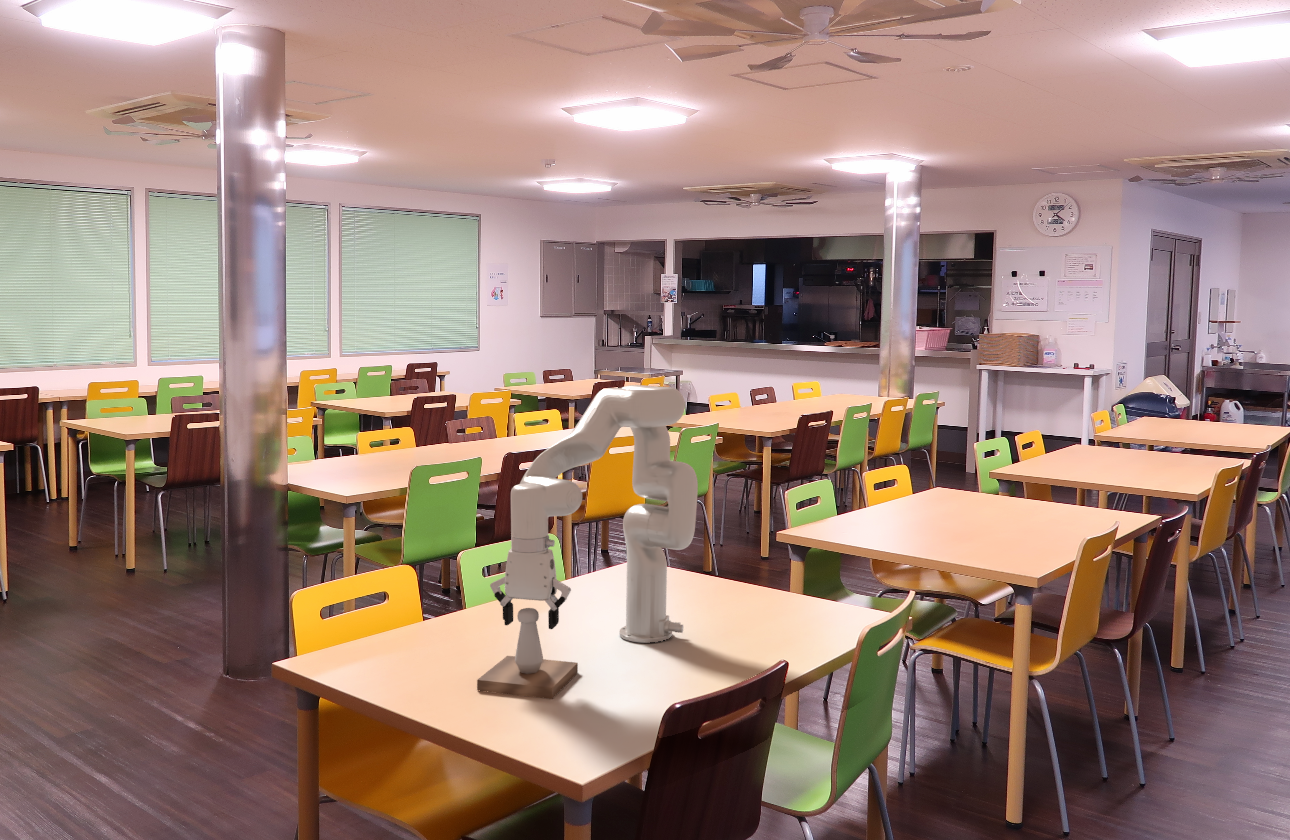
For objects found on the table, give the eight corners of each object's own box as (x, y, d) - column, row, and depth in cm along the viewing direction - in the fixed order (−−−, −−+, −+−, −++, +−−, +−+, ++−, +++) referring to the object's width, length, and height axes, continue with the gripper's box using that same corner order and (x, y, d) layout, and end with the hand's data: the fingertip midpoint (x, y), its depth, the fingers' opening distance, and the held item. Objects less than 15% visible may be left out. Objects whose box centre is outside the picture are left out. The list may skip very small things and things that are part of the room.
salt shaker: (532, 677, 211) (530, 616, 209) (509, 672, 214) (507, 611, 212) (548, 668, 216) (547, 607, 214) (526, 662, 219) (525, 603, 217)
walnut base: (577, 676, 221) (577, 662, 220) (552, 702, 205) (552, 687, 205) (507, 669, 225) (507, 655, 224) (477, 694, 209) (477, 679, 209)
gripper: (575, 542, 214) (576, 623, 215) (497, 537, 218) (498, 616, 220) (563, 551, 206) (564, 634, 208) (483, 545, 211) (484, 627, 213)
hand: (530, 625), depth 214 cm, fingers open, 9 cm apart
